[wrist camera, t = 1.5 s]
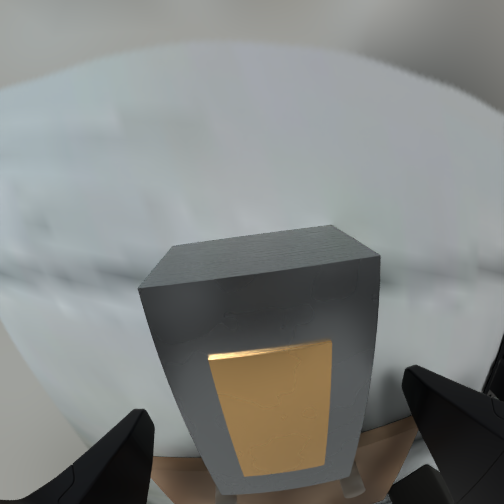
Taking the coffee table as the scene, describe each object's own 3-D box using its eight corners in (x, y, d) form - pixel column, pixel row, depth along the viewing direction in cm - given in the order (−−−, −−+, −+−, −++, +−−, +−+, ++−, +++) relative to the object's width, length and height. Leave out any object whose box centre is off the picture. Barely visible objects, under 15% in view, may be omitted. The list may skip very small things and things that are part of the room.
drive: (174, 244, 10) (136, 289, 6) (329, 223, 10) (382, 256, 6) (223, 432, 13) (221, 496, 9) (329, 417, 13) (349, 478, 9)
